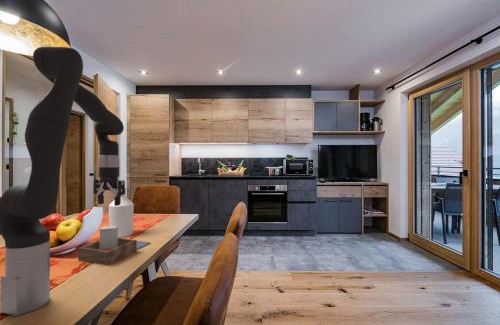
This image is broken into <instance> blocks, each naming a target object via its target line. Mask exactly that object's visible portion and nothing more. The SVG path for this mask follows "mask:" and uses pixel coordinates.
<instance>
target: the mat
mask: <svg viewBox="0 0 500 325" xmlns="http://www.w3.org/2000/svg"><path fill="white" fill-rule="evenodd" d="M148 245H151V242H150V241H142V240H137V250H140V249H142V248H144V247H146V246H148Z"/></svg>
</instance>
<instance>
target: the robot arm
mask: <svg viewBox="0 0 500 325" xmlns="http://www.w3.org/2000/svg"><path fill="white" fill-rule="evenodd" d="M32 61H33V64H34V65H35V68H36V69H37V70H38V71H39V73H40V74H41V75H42V76H43V77H45V79H47V80H48V81H49V82H50V83H52V84H53V85H52V87H51V88H50V90H49V91H48V92H47V93H46V94H45V95H44V96H43V97H42V98H41V99H40V101H38V103H37V104H36V105H35V106H33V108H32V109H31V111H30V113H29V115H28V118H27V121H26V122H27V123H26V126H25V127H26V128H25V131H24V141H25V146H26V148H27V151H28V154H29V158H30V162H31V171H30V175H29V181H28V184H17V185H12V186H10V187H9V188H7V189H6V190H5V191H4V193H3V194H2V195H1V197H0V234H1V237H2V239H3V240H4V274H3V275H1V277H0V313H2V314H6V315H8V316H9V315H10V316H13V317H18V316H20V315H23V314H27V313H29V312H33V311H35V310H38V309H40V308H42V307H43V306H45V305H46V304H47V303H49V301H50V299H51V232H50V230H49V228H47V227H46V226H44V225H43V224H42V222H41V221H40V220H44V219H45V218H47V217H49V216H50V215H51V214H52V213H53V212H54V210H55V209H56V206H57V204H58V198H59V188H60V187H59V186H60V174H61V166H62V161H63V160H62V159H63V153H64V149H65V143H66V140H67V136H68V131H69V125H70V117H71V114H72V110H73V104H74V103H75V104H77V105H78V106H79V108H80V109H82V112H84V113H85V114H86V115H87V117H88V118H89V119H90V120H92V121H93V122H94V125H93V127H94V131H95V135H96V138H97V142H98V146H99V152H98V154H99V155H98V156H99V157H98V179H94V180H93V188H92V189H93V195H96V196H97V203H98V205H103V204H104V203H105V193H106V192H107V191H109V192H111V193H113V195H114V200H115V206H118V205H120V203H121V195H124V194H125V188H126V186H125V184H126V181H125V180H119V179H118V178H119V177H120V156H119V154H120V153H119V152H120V150H119V148H120V147H119V146H120V145H119V142H118V141H114V140H110V138H109V136H119V135H120V136H121V134H122V133H123V132H124V128H125V127H124V124H123V121H122V120H121V119H120V118H119V117H118V116H117V115H115V114H114V113H113V112H112V111H110V110H109V109H107V108H108V107H106V105H105V104H104V103H103V101H102V100H101V99H100V98H99V97H98V96H97V95H96V94H95V93H94V92H93V91H91V90H89V89H88V88H85V87H84V86H83V85H81V84H80V82H81V79H82V76H83V71H84V61H83V57H82V55H81V54H80V52H79V51H78V50H76V49H75V48H74V47H68V46H49V45H48V46H47V45H45V46H39V47H37V48H36V49H34V51H33V53H32ZM121 189H122V192H121Z"/></svg>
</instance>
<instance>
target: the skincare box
mask: <svg viewBox="0 0 500 325" xmlns="http://www.w3.org/2000/svg"><path fill="white" fill-rule="evenodd" d="M99 240H100V247H99V250H105V251H109V250H112V249H114V248H117V247H118V226H109V225H108V226H102V227H101V228H100V229H99Z"/></svg>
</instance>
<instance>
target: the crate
mask: <svg viewBox="0 0 500 325" xmlns="http://www.w3.org/2000/svg"><path fill="white" fill-rule="evenodd" d="M137 241H138V240H137V239H131V238H130V239H129V238H125V237H119V238H118V247H117V248H114V249H112V250H109V251H105V250H99V247H100V239H98V240H96V241H94V242H93V241H92V242H90V243H88V244H85V245H82V246H80V247H78V248H77V249H78V250H77V251H78V252H77V253H78V254H77V255H78V257H77V258H78V260H77V261H81V262H85V263H86V262H87V263H93V264H99V265H104V266H109V265H111V264H113V263H115V262H118V261H120V260H122V259H123V258H125V257H128V256H130V255H132V254H134V253H137Z"/></svg>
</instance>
